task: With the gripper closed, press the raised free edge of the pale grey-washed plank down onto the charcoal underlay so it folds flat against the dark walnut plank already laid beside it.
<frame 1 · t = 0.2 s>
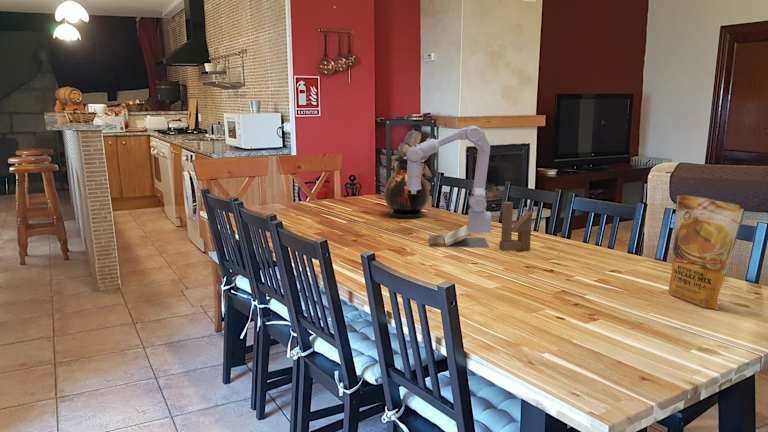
hand: (413, 208, 240), 10 cm above the table, tool pointing down, fingers open, 7 cm apart
amphora vase: (406, 216, 278), on the table
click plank: (456, 235, 221), point 3 cm above the table, hinge at 25.0°
pancake mix bag: (694, 301, 157), on the table
laid plank: (436, 243, 222), resting on underlay
underlay: (458, 243, 221), on the table
brown wooden upright frame: (514, 250, 211), on the table
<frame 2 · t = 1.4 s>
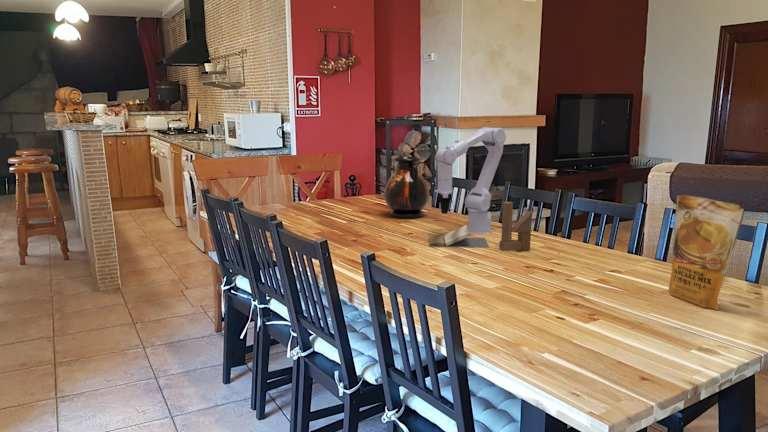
hand: (444, 213, 231), 10 cm above the table, tool pointing down, fingers closed
nothing on the table moved.
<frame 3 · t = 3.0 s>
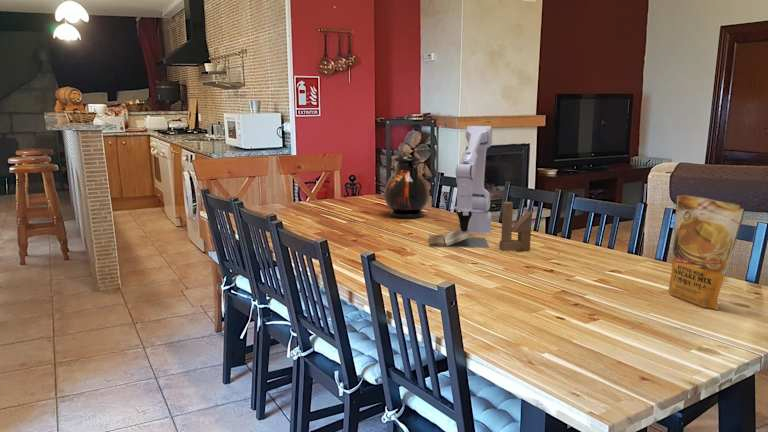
hand: (463, 230, 220), 5 cm above the table, tool pointing down, fingers closed, pressing on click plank
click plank: (457, 235, 221), point 3 cm above the table, hinge at 22.5°, touching gripper
everything else where it was.
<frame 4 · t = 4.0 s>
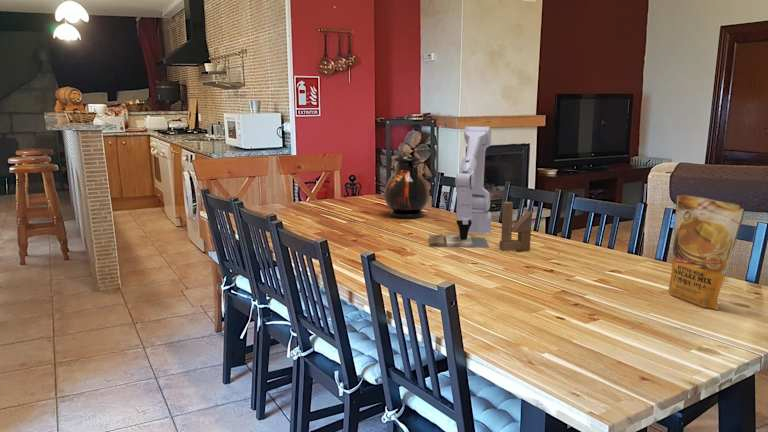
hand: (463, 239, 221), 2 cm above the table, tool pointing down, fingers closed, pressing on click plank
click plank: (458, 240, 221), point 1 cm above the table, hinge at 0.3°, touching gripper
everything else where it was.
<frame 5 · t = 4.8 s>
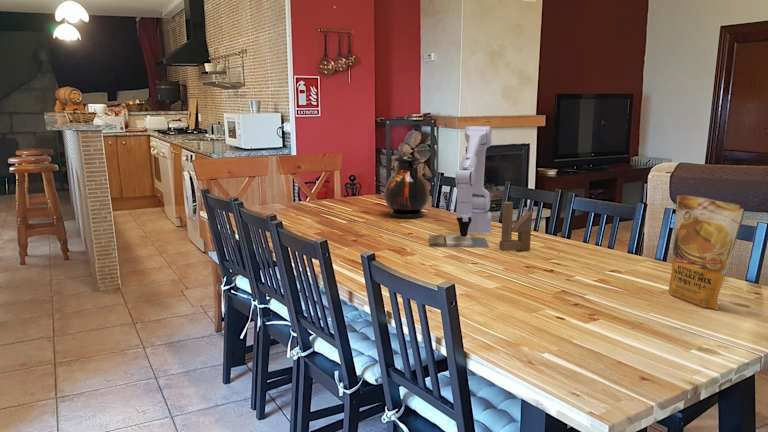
hand: (463, 236, 221), 3 cm above the table, tool pointing down, fingers closed
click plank: (458, 240, 221), point 1 cm above the table, hinge at 0.3°
everything else where it was.
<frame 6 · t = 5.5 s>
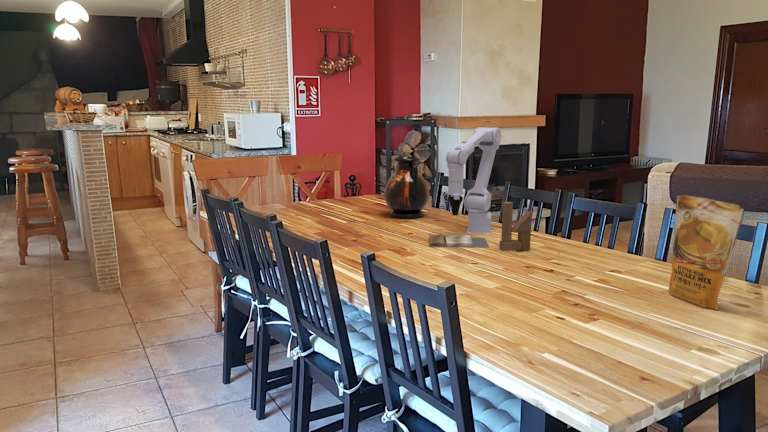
hand: (455, 215, 226), 10 cm above the table, tool pointing down, fingers closed
nothing on the table moved.
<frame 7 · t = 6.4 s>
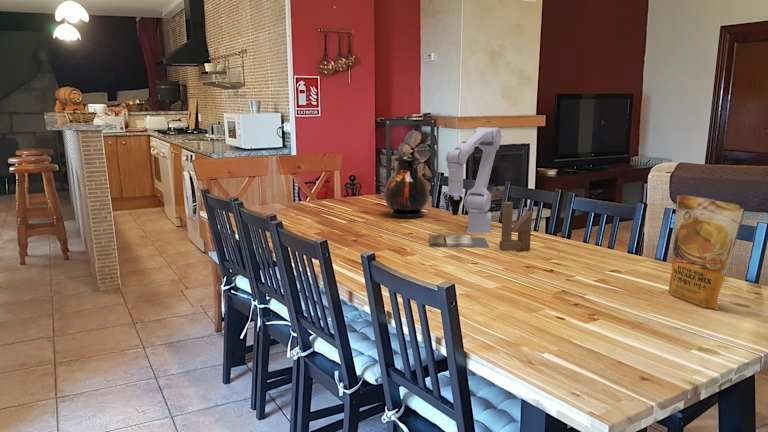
hand: (455, 215, 226), 10 cm above the table, tool pointing down, fingers closed
nothing on the table moved.
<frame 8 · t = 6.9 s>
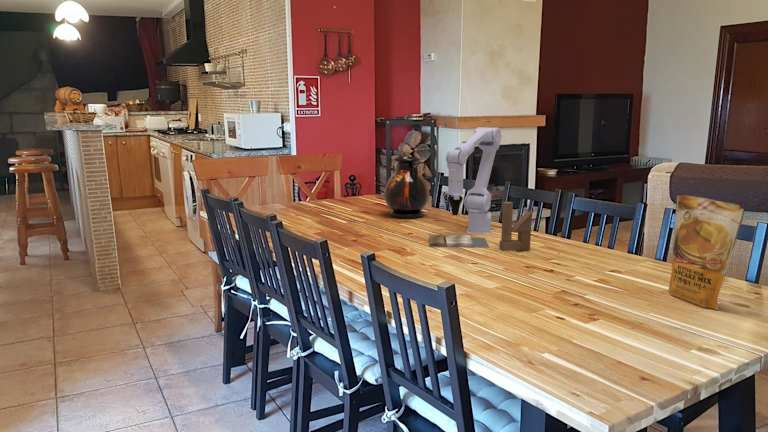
hand: (455, 215, 226), 10 cm above the table, tool pointing down, fingers closed
nothing on the table moved.
at the end: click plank at +0° (first picture: +25°); the gripper is holding nothing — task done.
